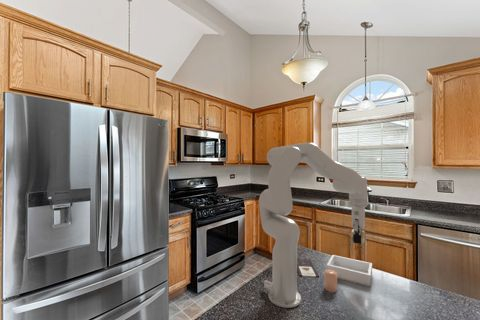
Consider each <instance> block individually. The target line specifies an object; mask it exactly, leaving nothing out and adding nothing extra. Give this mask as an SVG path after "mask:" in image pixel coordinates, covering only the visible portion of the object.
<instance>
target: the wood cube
mask: <svg viewBox="0 0 480 320" xmlns="http://www.w3.org/2000/svg"><path fill="white" fill-rule="evenodd" d="M365 232H366V231H365V230H363V229H362V230H361V244H360V245H364V244H365V240H366V239H365V237H366V236H365V234H366V233H365ZM353 234H354V228H353V229H352V230H351V243H353V244H355V243H354V242H353ZM356 244H358V243H356Z"/></svg>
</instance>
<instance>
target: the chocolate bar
mask: <svg viewBox="0 0 480 320" xmlns="http://www.w3.org/2000/svg"><path fill="white" fill-rule="evenodd" d="M313 264H314V263H312V261H311V259H310V258H308V259H307V258H305V259H304V258H297V275H298V276H299V277H305V278H307V277H308V278H309V277H310V278H319V277H320V275H319V274H318V272H317V270H316V268H315V266H314V265H313Z"/></svg>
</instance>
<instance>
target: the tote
mask: <svg viewBox="0 0 480 320" xmlns="http://www.w3.org/2000/svg"><path fill="white" fill-rule="evenodd" d="M326 270H333V271H335V272H337V280H343V281H346V282H351V283H354V284H358V285H362V286H365V287H368V286H369V287H368V288H371V286H372V285H371V284H372V277H373V263H372V262H367V261H363V260H358V259H355V258H349V257H344V256H340V255H336V254H332V255H331V257H330V258H329V260H328V262H327V264H326Z"/></svg>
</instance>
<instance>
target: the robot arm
mask: <svg viewBox="0 0 480 320" xmlns="http://www.w3.org/2000/svg"><path fill="white" fill-rule="evenodd" d="M266 160H267V163H268V165H270V166H271V167H270V168H269V171H268V176H267V181H268V183H267V184H268V185H267V186H268V188H266V189H264V190H263V191H261V193H260V195H259V198H258V208H259V215H260V224H261V227H262V230H263V232H264V233H265V234H266V235H268V236H270V237H271V238H273V239H274V240H275V242H274V246H273V248H272V254H271V255H272V256H271V257H272V261H271V262H272V264H271V266H272V271H271V272H272V281H270V280H266V279H265V280H264V281H263V285H264V286H263V288H264V289H267V290H269V291H268V293H267V296H268V299H269V301H270V302H271V303H272V304H273V305H275V306H276V307H281V308H285V309H286V308H288V309H289V308H290V309H291V308H295V307H298V306H299V305H300V304H301V302H302V296H301V293H299V292H298V271H297V259H298V245H299V240H300V234H301V233H300V232H301V231H300V227H299V225H298V224H297V223H296V222H295V221H294V220H293V219H291V218H289V217H286V216H288V215H290V214H291V213H292V211H293V208H294V207H293V205H294V204H293V196H292V187H291V175H292V173H293V171H294V170H295V169H296V167H297V166H298V165H299V163H303V164H306V165H308V166H309V167H310V168H311V169H312V170H314V172H316V173H317V174H318V175H320V176H321V177H323V178H326V179H329V180H332V187H333V189H334V190H335V191H337V192H339V193H344V194H348V206H350V207H351V227H352V228H353V229H354V234H353V242H354V243H353V244H357V243H358V244H359V245H362V244H361V230H362V231H363V230H364V229H365V226H366V210H365V208H367V207H368V179H367V178H366V177H365V176H361V175H360V174H359V173H358V172H357V171H355V170H354V169H352V167H349V166H347V165H345V164H342V163H340V162H337V161H336V160H335V159H333V158H332V157H330V155H328V154H327V153H326V152H325V151H324V150H323V149H321V147H319V146H318V145H317V144H316V143H313V142H302V143H301V142H299V143H295V144H288V145H282V146H276V147H275V146H274V147H273V148H270V150H269V151H268V152H267V154H266Z"/></svg>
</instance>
